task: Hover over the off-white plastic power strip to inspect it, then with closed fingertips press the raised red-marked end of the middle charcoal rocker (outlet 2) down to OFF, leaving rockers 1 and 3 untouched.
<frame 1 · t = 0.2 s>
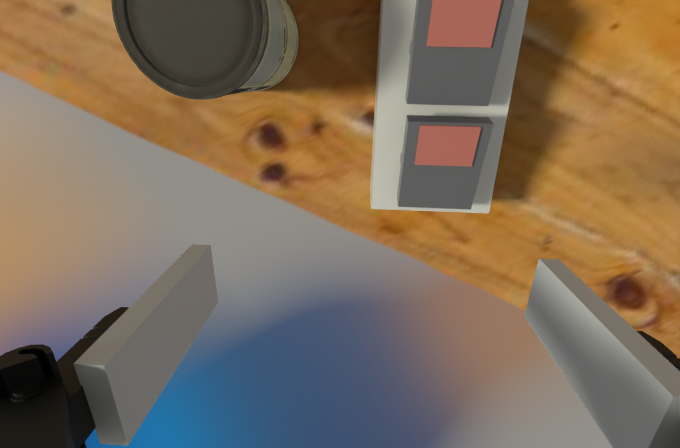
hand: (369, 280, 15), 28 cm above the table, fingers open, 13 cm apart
rocker 2: (455, 50, 30), point 7 cm above the table, hinge at 14.0°
power strip: (438, 53, 36), on the table
coffee can: (250, 38, 37), on the table
rocker 3: (440, 165, 33), point 7 cm above the table, hinge at 14.0°
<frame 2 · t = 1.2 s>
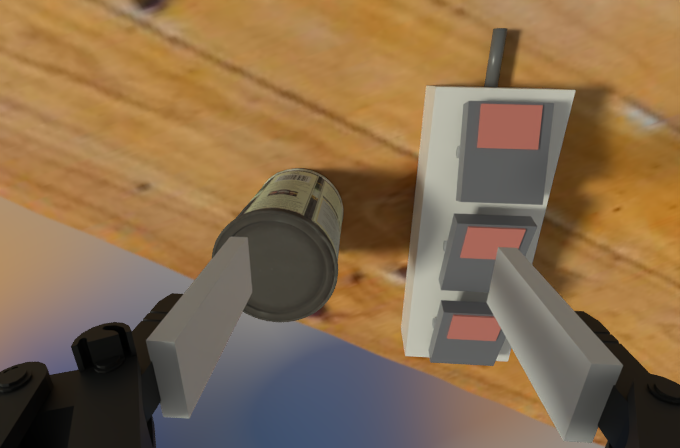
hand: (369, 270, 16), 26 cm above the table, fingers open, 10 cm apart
rocker 2: (483, 256, 35), point 7 cm above the table, hinge at 14.0°
rocker 1: (503, 154, 32), point 7 cm above the table, hinge at -14.0°
power strip: (464, 225, 42), on the table
coffee can: (300, 210, 43), on the table
rocker 3: (468, 335, 39), point 7 cm above the table, hinge at 14.0°
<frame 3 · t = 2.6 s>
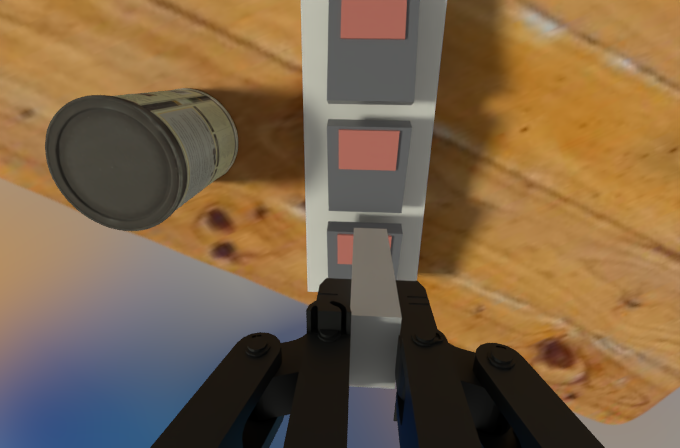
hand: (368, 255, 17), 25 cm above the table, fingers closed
rocker 2: (366, 169, 33), point 7 cm above the table, hinge at 14.0°
rocker 1: (372, 47, 29), point 7 cm above the table, hinge at -14.0°
power strip: (365, 150, 40), on the table
coffee can: (194, 137, 40), on the table
rocker 3: (362, 261, 37), point 7 cm above the table, hinge at 14.0°
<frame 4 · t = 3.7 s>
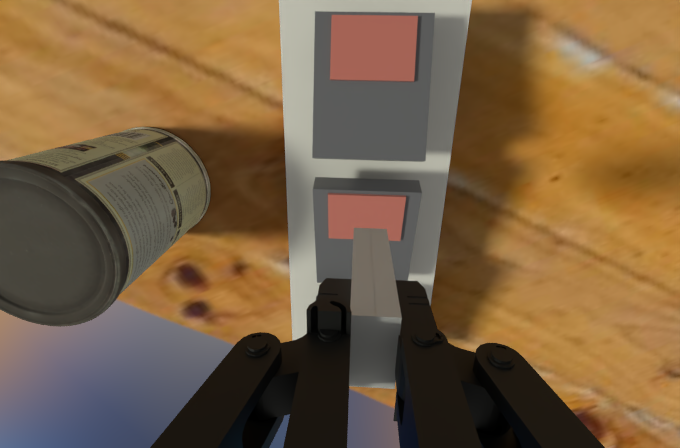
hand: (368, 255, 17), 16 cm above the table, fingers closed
rocker 2: (364, 236, 26), point 7 cm above the table, hinge at 14.0°
rocker 1: (371, 90, 23), point 7 cm above the table, hinge at -14.0°
power strip: (363, 201, 33), on the table
coffee can: (158, 182, 34), on the table
rocker 3: (359, 341, 30), point 7 cm above the table, hinge at 14.0°
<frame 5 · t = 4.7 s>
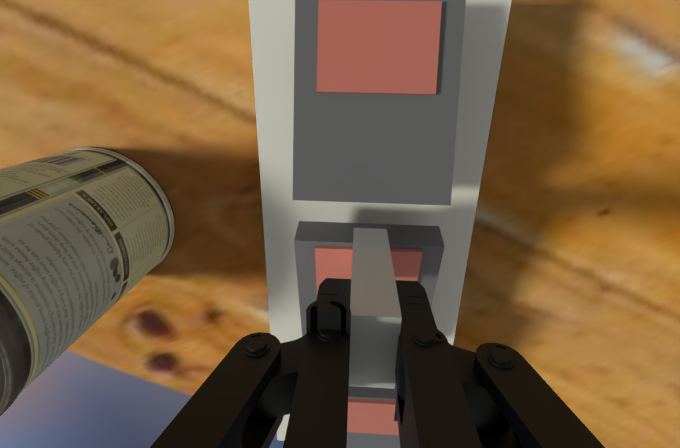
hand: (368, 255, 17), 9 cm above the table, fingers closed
rocker 2: (364, 296, 20), point 7 cm above the table, hinge at 13.4°, touching gripper
rocker 1: (374, 106, 16), point 7 cm above the table, hinge at -14.0°
power strip: (363, 238, 27), on the table
coffee can: (110, 214, 27), on the table
rocker 3: (358, 421, 23), point 7 cm above the table, hinge at 14.0°
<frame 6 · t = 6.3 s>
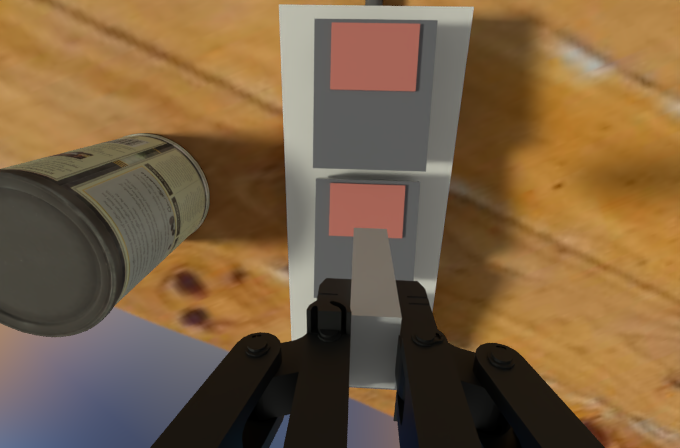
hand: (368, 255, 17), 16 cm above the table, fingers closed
rocker 2: (364, 239, 26), point 7 cm above the table, hinge at -11.6°
rocker 1: (371, 99, 22), point 7 cm above the table, hinge at -9.4°
power strip: (364, 208, 33), on the table
coffee can: (157, 189, 33), on the table
rocker 3: (359, 350, 29), point 7 cm above the table, hinge at 14.0°
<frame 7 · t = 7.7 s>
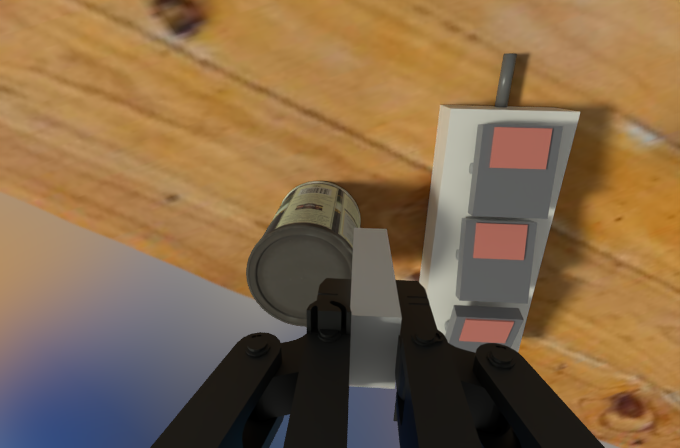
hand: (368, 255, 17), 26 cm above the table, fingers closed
rocker 2: (495, 260, 38), point 7 cm above the table, hinge at -13.3°
rocker 1: (513, 171, 34), point 7 cm above the table, hinge at -8.3°
power strip: (474, 234, 45), on the table
coffee can: (320, 220, 45), on the table
rocker 3: (479, 337, 41), point 7 cm above the table, hinge at 14.0°
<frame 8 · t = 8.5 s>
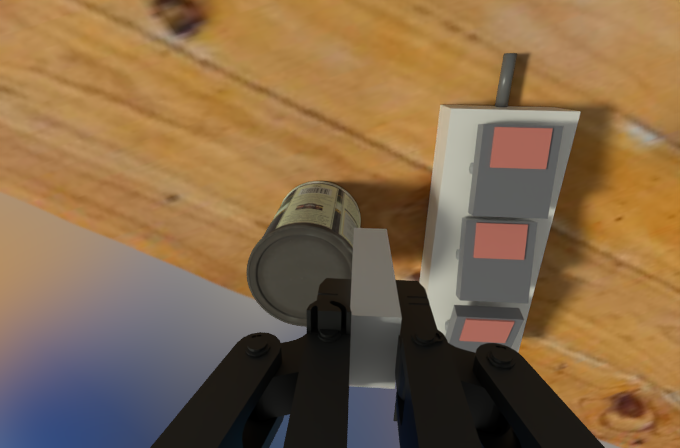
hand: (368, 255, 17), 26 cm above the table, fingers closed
rocker 2: (495, 260, 38), point 7 cm above the table, hinge at -13.5°
rocker 1: (513, 171, 34), point 7 cm above the table, hinge at -8.2°
power strip: (474, 234, 45), on the table
coffee can: (320, 220, 45), on the table
rocker 3: (479, 337, 41), point 7 cm above the table, hinge at 14.0°
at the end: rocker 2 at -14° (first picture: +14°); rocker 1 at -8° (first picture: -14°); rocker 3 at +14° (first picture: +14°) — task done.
